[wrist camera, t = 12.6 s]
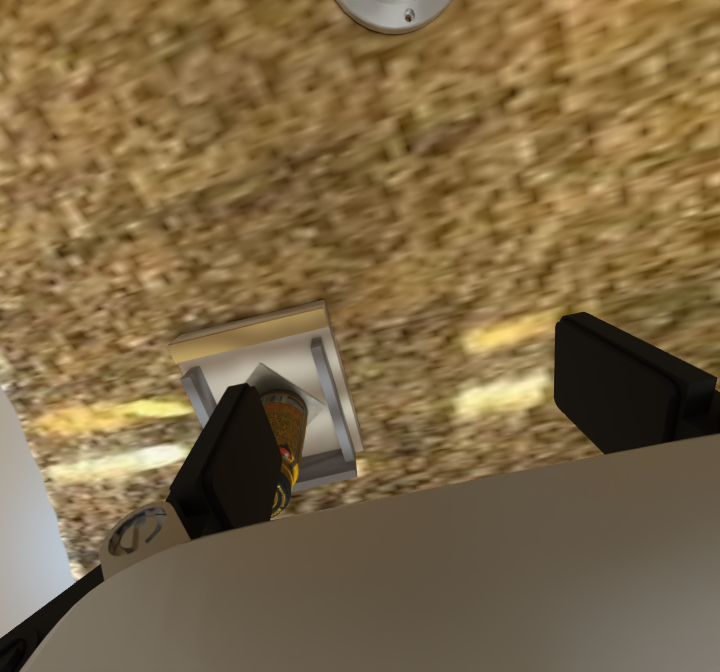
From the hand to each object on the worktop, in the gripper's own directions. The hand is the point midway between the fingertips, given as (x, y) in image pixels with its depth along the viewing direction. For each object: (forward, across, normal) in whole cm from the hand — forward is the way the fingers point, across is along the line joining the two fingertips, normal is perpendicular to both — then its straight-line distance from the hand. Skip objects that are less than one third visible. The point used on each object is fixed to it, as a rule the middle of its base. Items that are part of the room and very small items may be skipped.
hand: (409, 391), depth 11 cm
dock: (+26, +13, +13) cm, 32 cm away
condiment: (+24, +13, +14) cm, 30 cm away
